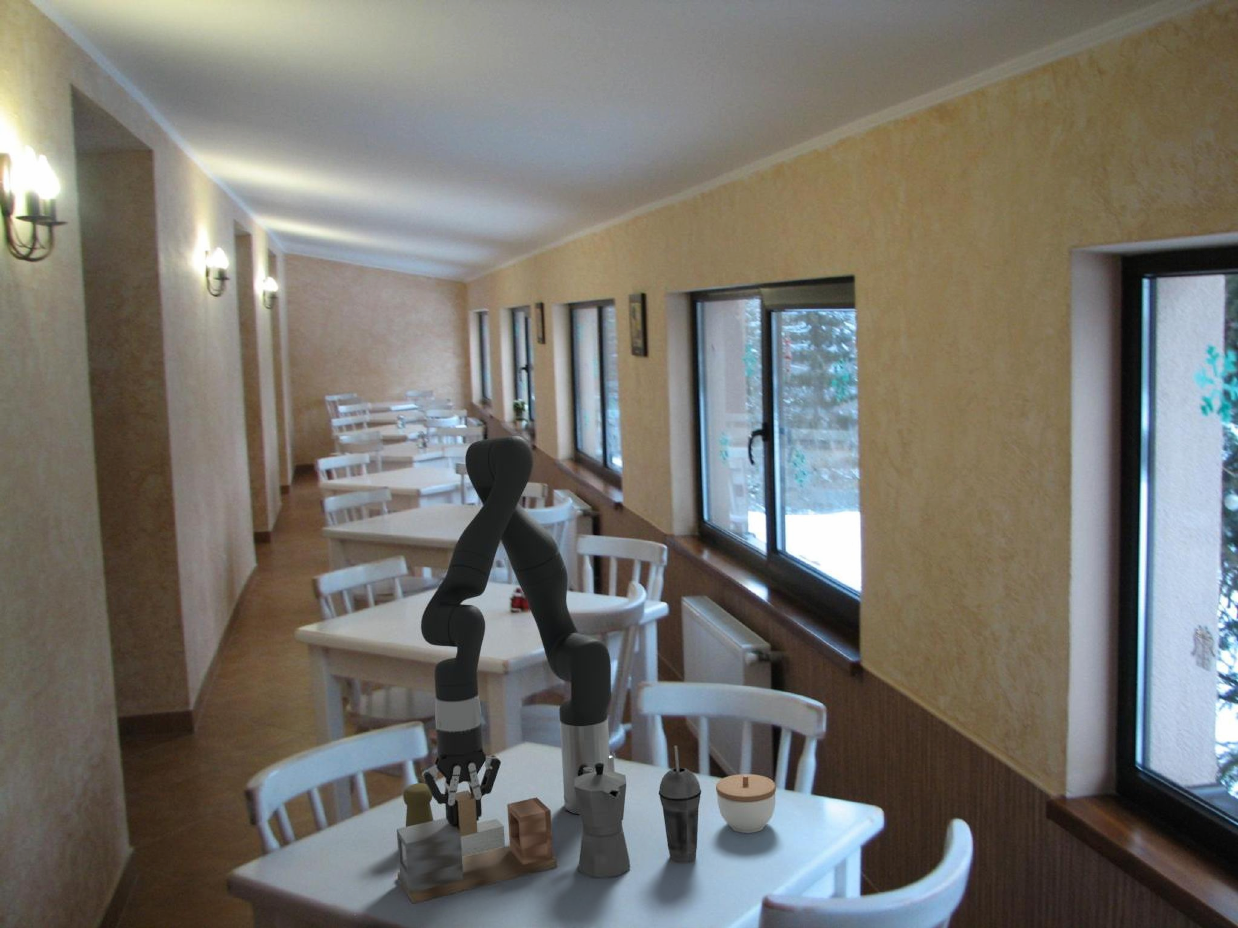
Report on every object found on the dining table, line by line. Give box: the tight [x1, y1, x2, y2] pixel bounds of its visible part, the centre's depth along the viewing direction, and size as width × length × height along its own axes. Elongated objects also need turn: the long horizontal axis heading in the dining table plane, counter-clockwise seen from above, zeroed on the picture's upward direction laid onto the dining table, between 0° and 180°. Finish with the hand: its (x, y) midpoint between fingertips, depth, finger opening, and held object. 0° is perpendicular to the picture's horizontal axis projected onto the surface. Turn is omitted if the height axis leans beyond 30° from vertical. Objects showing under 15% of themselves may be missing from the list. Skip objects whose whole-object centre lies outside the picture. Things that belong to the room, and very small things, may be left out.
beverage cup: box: [658, 745, 702, 864], centre depth 189 cm, size 7×7×20 cm
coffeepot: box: [574, 763, 631, 879], centre depth 188 cm, size 15×9×18 cm, turn 25°
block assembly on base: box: [396, 796, 558, 904], centre depth 188 cm, size 25×10×9 cm, turn 115°
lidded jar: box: [715, 773, 777, 834], centre depth 201 cm, size 11×11×9 cm
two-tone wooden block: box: [401, 789, 506, 868], centre depth 185 cm, size 17×4×10 cm, turn 115°
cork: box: [402, 782, 435, 827], centre depth 200 cm, size 6×6×11 cm
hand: (464, 821), depth 186 cm, fingers open, 3 cm apart
